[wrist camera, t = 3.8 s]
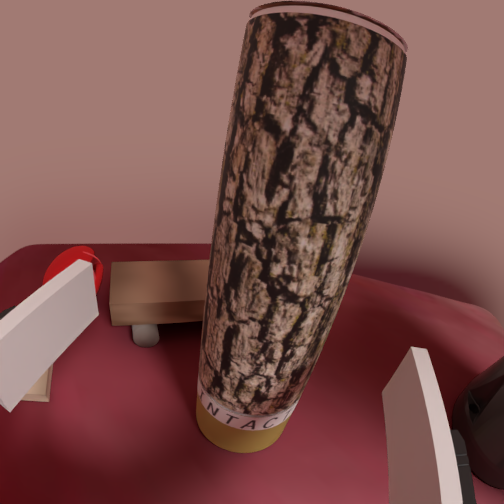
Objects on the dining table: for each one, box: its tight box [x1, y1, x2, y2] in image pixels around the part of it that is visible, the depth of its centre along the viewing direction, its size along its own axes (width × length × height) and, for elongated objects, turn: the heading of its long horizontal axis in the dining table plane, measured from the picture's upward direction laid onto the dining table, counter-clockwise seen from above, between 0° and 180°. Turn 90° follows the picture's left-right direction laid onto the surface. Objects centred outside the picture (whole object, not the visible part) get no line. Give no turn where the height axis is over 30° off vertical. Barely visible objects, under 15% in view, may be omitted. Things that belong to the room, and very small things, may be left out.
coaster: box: [21, 364, 53, 402], centre depth 19 cm, size 9×9×1 cm
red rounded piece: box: [43, 246, 103, 294], centre depth 28 cm, size 8×6×6 cm
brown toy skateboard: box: [109, 260, 209, 347], centre depth 31 cm, size 20×8×5 cm, turn 110°
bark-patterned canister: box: [196, 1, 408, 453], centre depth 16 cm, size 7×7×25 cm
